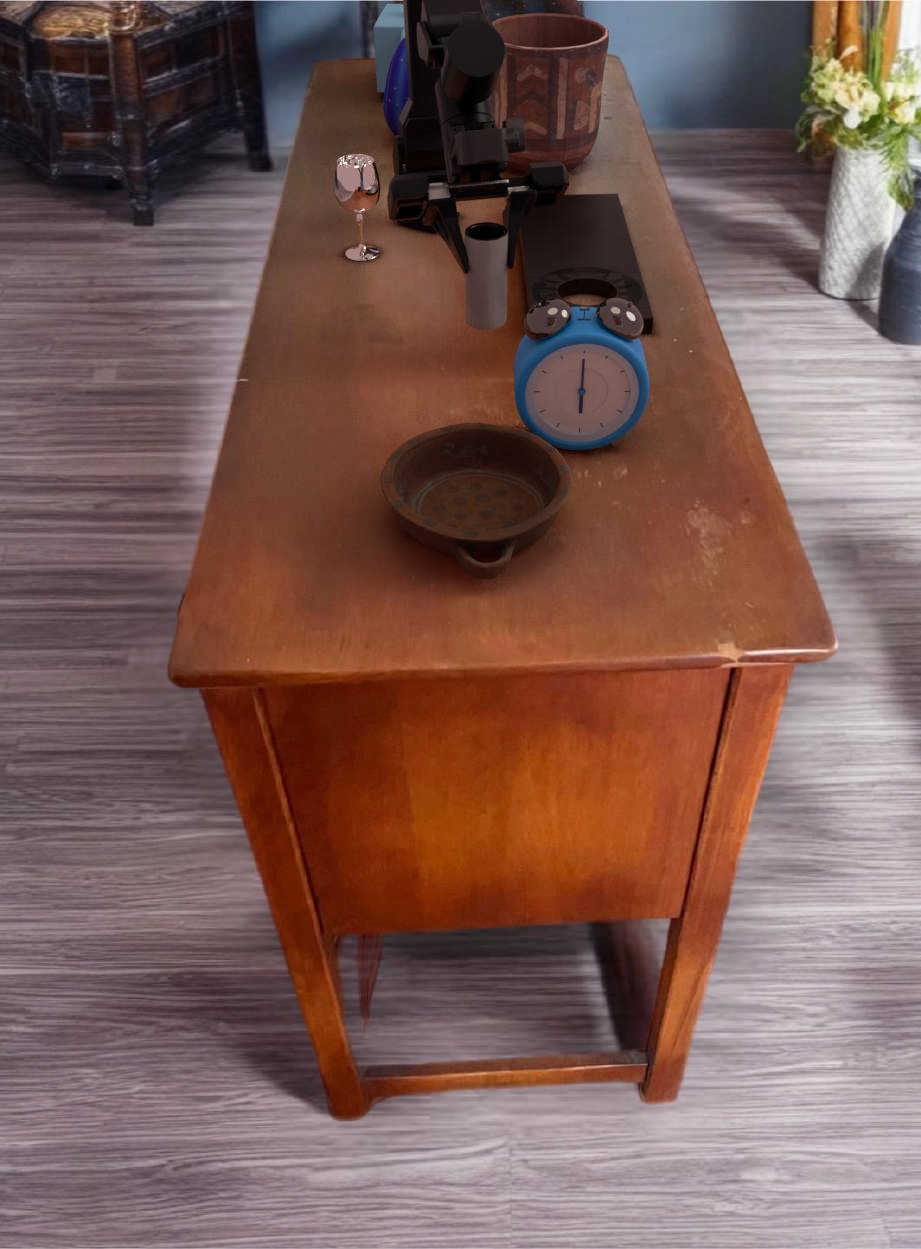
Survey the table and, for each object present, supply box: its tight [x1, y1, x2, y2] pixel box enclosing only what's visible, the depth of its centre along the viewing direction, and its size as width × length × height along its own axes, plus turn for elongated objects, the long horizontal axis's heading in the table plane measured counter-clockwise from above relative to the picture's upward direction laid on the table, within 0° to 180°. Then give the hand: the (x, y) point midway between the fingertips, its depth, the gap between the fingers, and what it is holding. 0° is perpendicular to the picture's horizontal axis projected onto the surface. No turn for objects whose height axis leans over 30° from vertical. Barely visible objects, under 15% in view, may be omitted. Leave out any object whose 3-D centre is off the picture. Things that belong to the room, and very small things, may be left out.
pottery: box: [490, 13, 610, 173], centre depth 172 cm, size 18×18×18 cm
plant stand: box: [518, 193, 654, 334], centre depth 150 cm, size 36×14×2 cm, turn 1°
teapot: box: [373, 3, 443, 93], centre depth 199 cm, size 22×11×14 cm, turn 173°
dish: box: [379, 422, 572, 580], centre depth 110 cm, size 18×22×5 cm
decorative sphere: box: [481, 0, 586, 22], centre depth 188 cm, size 19×20×20 cm
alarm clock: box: [513, 298, 651, 451], centre depth 117 cm, size 13×6×15 cm, turn 89°
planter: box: [463, 221, 508, 331], centre depth 127 cm, size 4×4×10 cm
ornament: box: [382, 38, 409, 137], centre depth 180 cm, size 11×9×15 cm
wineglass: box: [333, 153, 381, 262], centre depth 151 cm, size 6×6×12 cm
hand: (488, 270), depth 125 cm, fingers closed on planter, 4 cm apart
